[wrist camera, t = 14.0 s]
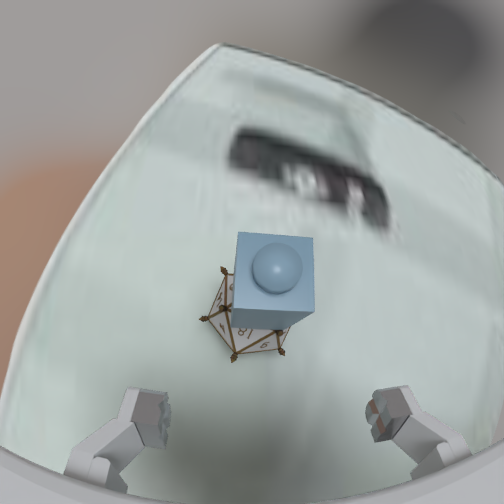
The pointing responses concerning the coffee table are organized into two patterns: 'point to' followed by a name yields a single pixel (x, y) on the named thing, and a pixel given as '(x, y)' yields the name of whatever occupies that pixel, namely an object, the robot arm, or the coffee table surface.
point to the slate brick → (272, 281)
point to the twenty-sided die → (240, 337)
